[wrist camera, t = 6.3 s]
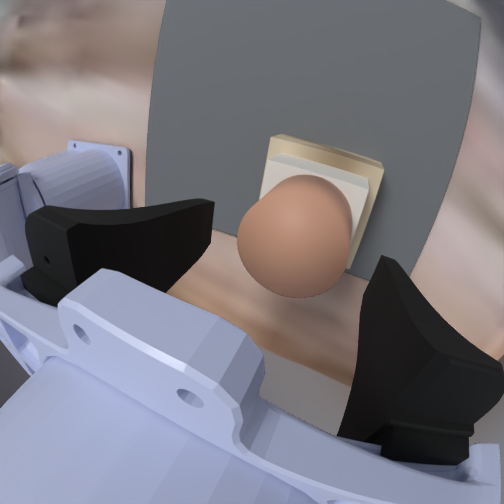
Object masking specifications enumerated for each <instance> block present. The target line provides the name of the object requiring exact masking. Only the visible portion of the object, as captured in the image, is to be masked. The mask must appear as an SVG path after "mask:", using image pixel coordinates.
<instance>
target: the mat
mask: <svg viewBox="0 0 504 504" xmlns="http://www.w3.org/2000/svg"><path fill="white" fill-rule="evenodd" d="M479 37H480V17H479V16H477V15H475V14H473V13H471V12H469V11H467V10H465V9H463V8H461V7H459V6H457V5H455V4H452V3H450V2H448V1H446V0H166V5H165V9H164V14H163V19H162V24H161V29H160V35H159V40H158V46H157V53H156V59H155V66H154V73H153V81H152V90H151V99H150V109H149V120H148V134H147V151H146V179H145V207H147V206H153V205H159V204H165V203H170V202H176V201H182V200H188V199H196V198H203V199H207V200H210V201H214V202H215V207H214V216H213V225H212V228H213V229H216V230H219V231H222V232H225V233H229V234H232V235H235V236H237V234H238V229H239V226H240V223H241V221H242V219H243V217H244V215H245V214H246V213H247V211H248V210H249V209H250V208H251V207H252V206H253V205H254V204H256V203H257V202H258V201H259V197H260V192H261V186H262V181H263V176H264V170H265V165H266V159H267V154H268V149H269V143H270V138H271V137H272V136H276V135H279V134H285V135H289V136H294V137H298V138H302V139H306V140H309V141H313V142H317V143H321V144H324V145H328V146H331V147H335V148H338V149H341V150H345V151H348V152H351V153H354V154H358V155H361V156H364V157H367V158H370V159H373V160H376V161H379V162H381V163H382V166H383V168H384V173H383V176H382V179H381V183H380V186H379V189H378V192H377V195H376V198H375V201H374V204H373V207H372V210H371V213H370V216H369V219H368V222H367V225H366V227H365V230H364V233H363V236H362V238H361V241H360V244H359V246H358V249H357V252H356V254H355V257H354V259H353V262H352V264H351V267H350V269H347V268H345V271H344V272H346V273H349V274H352V275H355V276H358V277H361V278H364V279H367V280H370V279H371V277H372V275H373V273H374V271H375V268H376V266H377V264H378V261H379V259H380V257H381V255H384V256H386V257H389V258H392V259H395V260H396V261H397V262H398V263H399V264H400V266H401V267H402V268H403V269H404V271H405V272H406V273H407V275H408V276H410V274H411V272H412V270H413V268H414V266H415V263H416V261H417V259H418V257H419V255H420V253H421V251H422V249H423V246H424V244H425V242H426V240H427V237H428V235H429V233H430V230H431V228H432V226H433V223H434V221H435V218H436V216H437V213H438V211H439V208H440V205H441V203H442V200H443V197H444V195H445V192H446V189H447V186H448V183H449V180H450V177H451V174H452V171H453V168H454V165H455V162H456V158H457V155H458V152H459V148H460V144H461V141H462V137H463V133H464V129H465V125H466V121H467V117H468V112H469V107H470V103H471V97H472V92H473V86H474V80H475V74H476V66H477V58H478V49H479Z"/></svg>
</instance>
